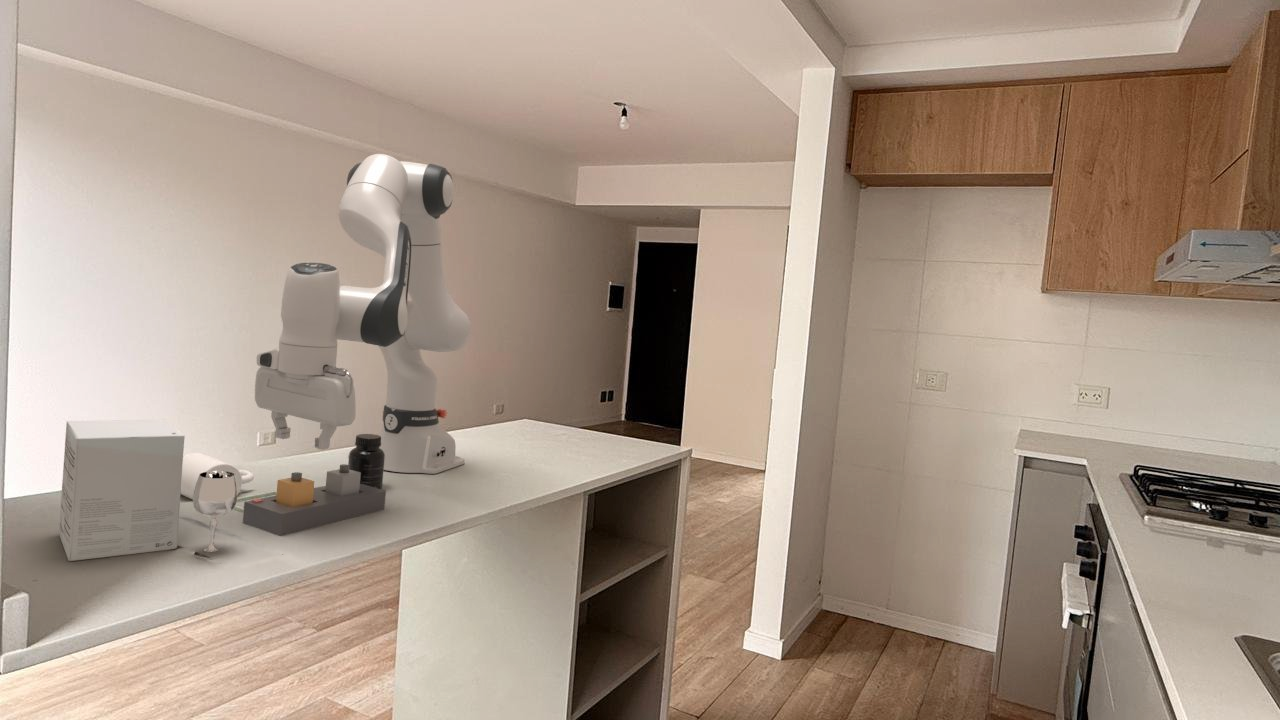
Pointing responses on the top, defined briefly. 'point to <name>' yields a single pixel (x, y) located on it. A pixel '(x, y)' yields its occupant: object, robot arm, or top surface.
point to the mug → (205, 463)
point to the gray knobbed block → (343, 481)
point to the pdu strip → (311, 510)
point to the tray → (252, 498)
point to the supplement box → (120, 488)
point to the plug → (295, 491)
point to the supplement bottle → (368, 460)
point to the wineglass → (214, 499)
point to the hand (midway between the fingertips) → (301, 443)
